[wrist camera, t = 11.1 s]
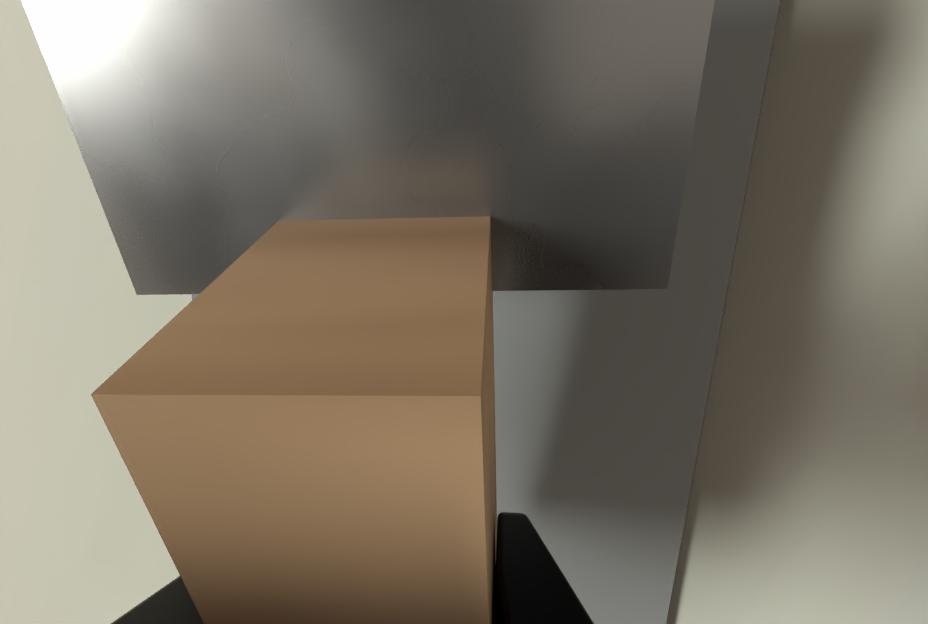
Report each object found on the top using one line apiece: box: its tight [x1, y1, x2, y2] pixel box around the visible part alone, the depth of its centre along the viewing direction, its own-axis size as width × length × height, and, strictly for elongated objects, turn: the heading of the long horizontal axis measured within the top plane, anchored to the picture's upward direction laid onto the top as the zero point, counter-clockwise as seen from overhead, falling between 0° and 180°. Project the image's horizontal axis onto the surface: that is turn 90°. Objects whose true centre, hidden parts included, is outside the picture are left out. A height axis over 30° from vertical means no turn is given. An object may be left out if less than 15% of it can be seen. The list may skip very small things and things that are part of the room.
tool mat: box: [192, 0, 781, 624], centre depth 13 cm, size 22×13×1 cm, turn 179°
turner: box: [21, 0, 715, 624], centre depth 6 cm, size 14×7×4 cm, turn 2°
